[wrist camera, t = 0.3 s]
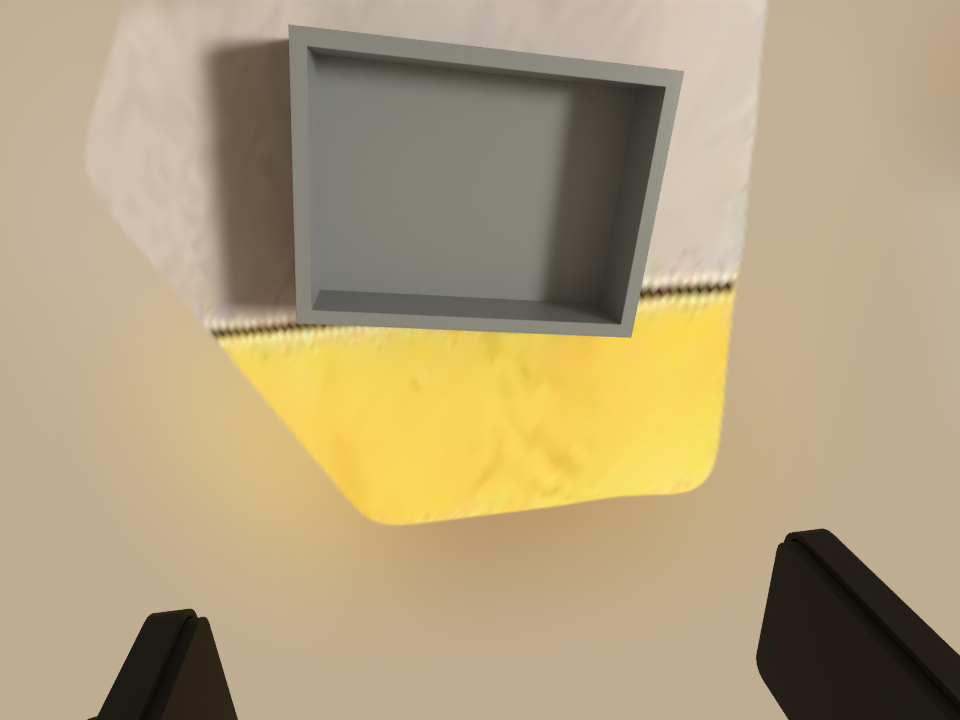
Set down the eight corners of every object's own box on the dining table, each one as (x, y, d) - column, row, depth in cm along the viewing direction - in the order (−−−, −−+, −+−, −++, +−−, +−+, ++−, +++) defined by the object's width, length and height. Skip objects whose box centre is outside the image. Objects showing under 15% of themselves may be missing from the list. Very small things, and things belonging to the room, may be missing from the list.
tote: (304, 37, 32) (288, 24, 27) (646, 77, 35) (684, 71, 30) (308, 297, 37) (296, 323, 33) (604, 312, 40) (631, 337, 36)
